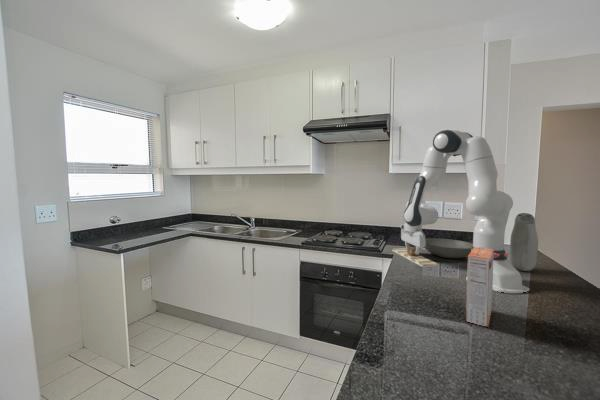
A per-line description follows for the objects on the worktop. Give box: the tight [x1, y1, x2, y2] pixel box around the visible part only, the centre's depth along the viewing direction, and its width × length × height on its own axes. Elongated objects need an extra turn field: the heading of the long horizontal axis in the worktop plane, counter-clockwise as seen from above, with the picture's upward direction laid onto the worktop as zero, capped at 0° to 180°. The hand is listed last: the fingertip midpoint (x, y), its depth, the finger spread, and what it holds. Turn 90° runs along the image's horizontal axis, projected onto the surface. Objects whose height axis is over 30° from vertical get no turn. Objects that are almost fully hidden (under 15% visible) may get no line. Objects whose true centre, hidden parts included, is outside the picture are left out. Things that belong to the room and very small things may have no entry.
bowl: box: [424, 238, 473, 260], centre depth 156 cm, size 27×28×8 cm
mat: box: [391, 249, 440, 267], centre depth 154 cm, size 34×10×1 cm, turn 7°
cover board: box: [392, 246, 438, 267], centre depth 153 cm, size 33×8×5 cm, turn 7°
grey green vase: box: [509, 212, 539, 272], centre depth 131 cm, size 10×10×28 cm
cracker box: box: [465, 247, 494, 328], centre depth 85 cm, size 14×6×21 cm, turn 141°
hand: (412, 251), depth 154 cm, fingers open, 8 cm apart
